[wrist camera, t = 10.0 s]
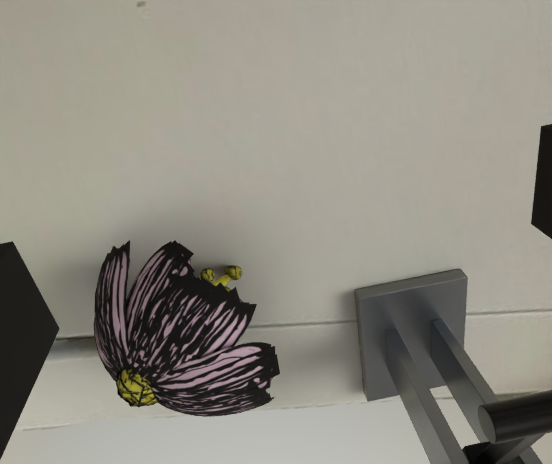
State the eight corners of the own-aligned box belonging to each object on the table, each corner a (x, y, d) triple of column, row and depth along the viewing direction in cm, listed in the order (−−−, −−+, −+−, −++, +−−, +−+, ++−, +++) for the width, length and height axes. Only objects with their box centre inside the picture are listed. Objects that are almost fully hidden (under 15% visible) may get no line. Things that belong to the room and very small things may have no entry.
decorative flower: (-15, 315, 23) (272, 369, 22) (93, 179, 32) (307, 211, 30) (67, 433, 34) (267, 476, 32) (132, 306, 42) (294, 336, 40)
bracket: (354, 289, 38) (427, 447, 25) (460, 268, 38) (587, 413, 25) (363, 391, 44) (426, 562, 31) (455, 371, 44) (556, 533, 31)
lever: (478, 391, 21) (504, 447, 19) (594, 367, 21) (628, 420, 20) (431, 461, 31) (445, 501, 30) (509, 445, 31) (528, 484, 30)
